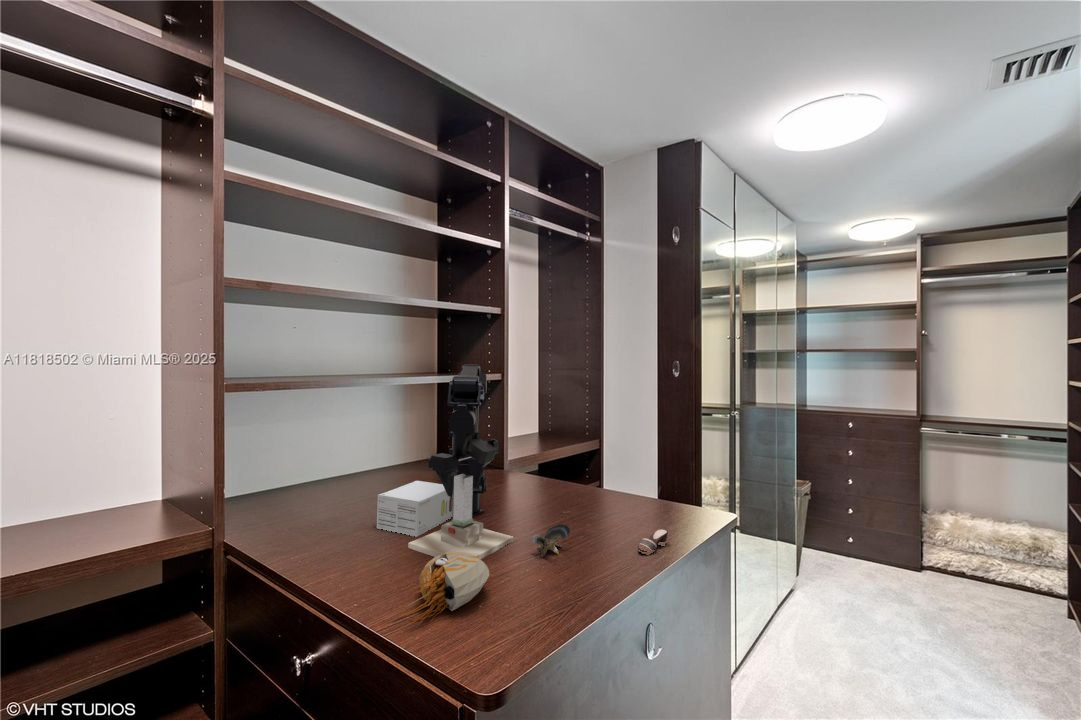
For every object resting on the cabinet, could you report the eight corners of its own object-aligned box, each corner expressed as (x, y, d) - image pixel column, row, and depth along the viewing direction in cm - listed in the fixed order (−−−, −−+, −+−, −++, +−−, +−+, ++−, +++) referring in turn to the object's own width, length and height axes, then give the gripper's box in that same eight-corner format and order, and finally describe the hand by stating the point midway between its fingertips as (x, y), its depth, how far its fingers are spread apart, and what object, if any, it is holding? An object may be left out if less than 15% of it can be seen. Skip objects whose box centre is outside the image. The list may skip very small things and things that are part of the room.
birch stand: (458, 526, 133) (459, 507, 133) (513, 541, 123) (513, 520, 123) (408, 547, 118) (408, 526, 117) (465, 567, 108) (466, 543, 108)
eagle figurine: (563, 558, 111) (577, 538, 119) (546, 531, 112) (561, 512, 120) (539, 569, 115) (554, 548, 123) (522, 542, 115) (538, 524, 123)
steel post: (461, 520, 123) (462, 473, 122) (472, 523, 121) (473, 475, 121) (452, 524, 120) (453, 476, 120) (463, 527, 118) (464, 478, 118)
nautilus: (430, 647, 80) (369, 623, 88) (507, 586, 98) (451, 571, 106) (427, 599, 80) (366, 579, 87) (505, 547, 98) (448, 535, 106)
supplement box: (417, 538, 124) (418, 501, 124) (375, 529, 129) (376, 494, 129) (453, 517, 140) (454, 484, 140) (415, 510, 145) (416, 479, 145)
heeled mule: (630, 552, 119) (631, 536, 119) (656, 540, 127) (657, 526, 126) (646, 559, 116) (647, 542, 116) (671, 547, 123) (672, 531, 123)
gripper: (464, 437, 108) (462, 508, 108) (513, 427, 123) (512, 489, 124) (427, 431, 114) (426, 498, 114) (479, 422, 129) (477, 481, 130)
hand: (463, 491), depth 120 cm, fingers open, 9 cm apart
